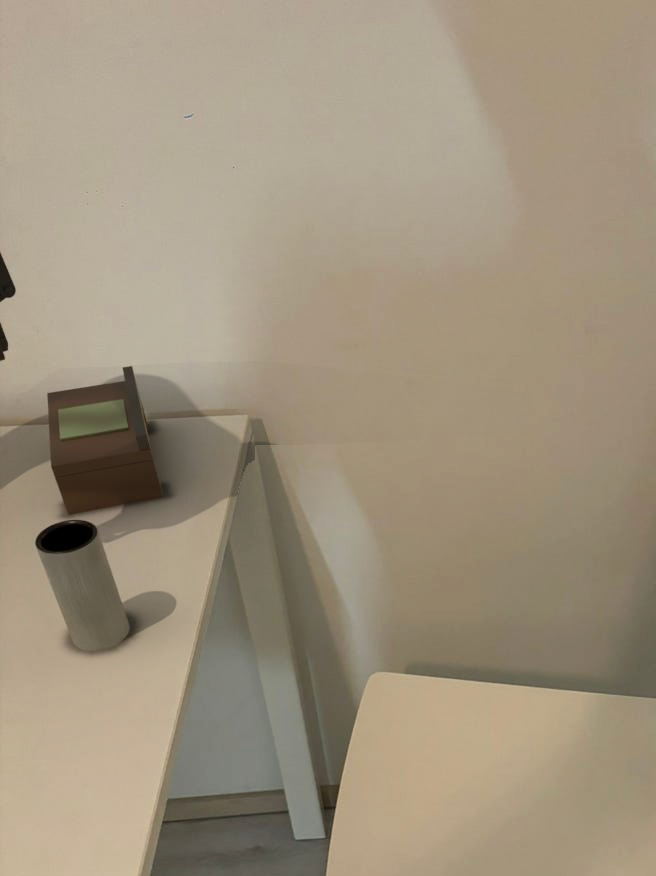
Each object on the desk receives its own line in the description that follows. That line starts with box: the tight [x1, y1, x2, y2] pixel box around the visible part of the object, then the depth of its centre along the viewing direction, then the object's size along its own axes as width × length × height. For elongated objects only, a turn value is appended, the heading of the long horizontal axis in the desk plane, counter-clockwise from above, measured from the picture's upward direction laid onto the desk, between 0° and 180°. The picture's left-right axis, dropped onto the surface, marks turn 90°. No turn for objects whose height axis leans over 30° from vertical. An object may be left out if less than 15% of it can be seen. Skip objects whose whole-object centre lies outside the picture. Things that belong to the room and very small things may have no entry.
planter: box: [34, 519, 131, 652], centre depth 74 cm, size 4×4×10 cm
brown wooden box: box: [46, 365, 164, 516], centre depth 95 cm, size 16×9×8 cm, turn 20°
